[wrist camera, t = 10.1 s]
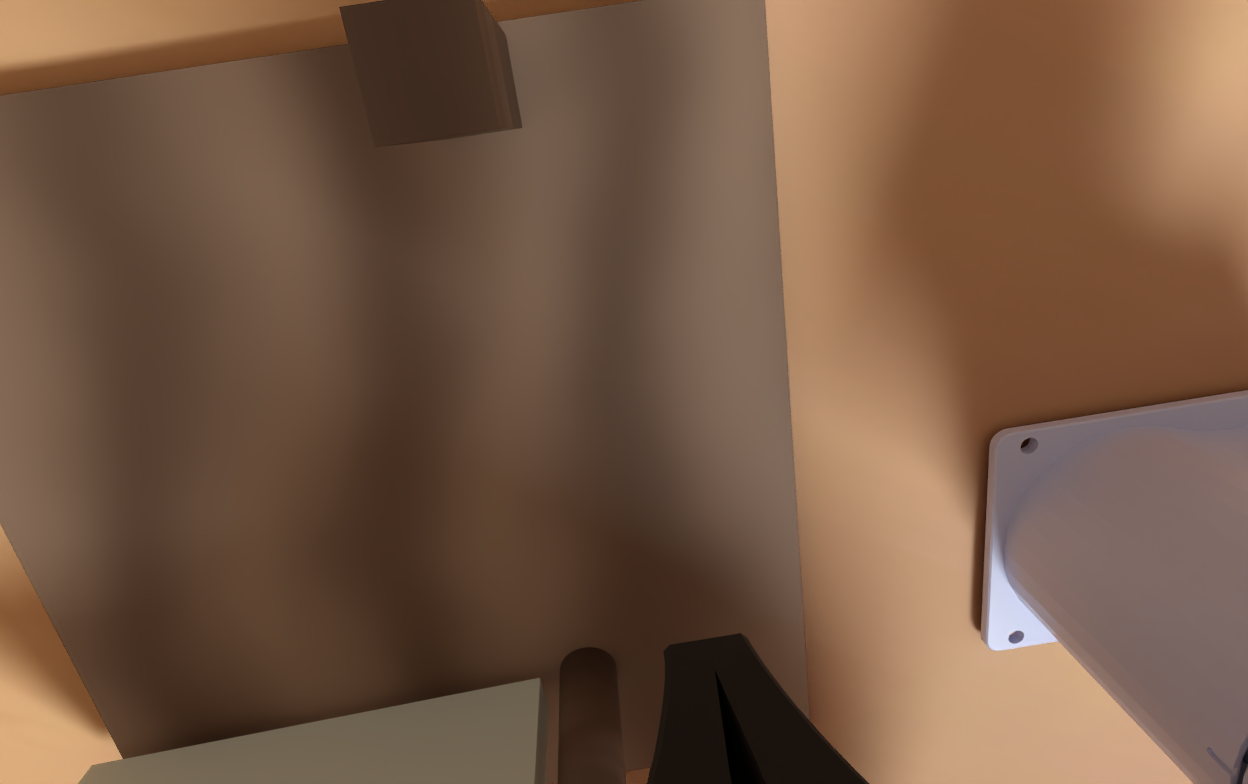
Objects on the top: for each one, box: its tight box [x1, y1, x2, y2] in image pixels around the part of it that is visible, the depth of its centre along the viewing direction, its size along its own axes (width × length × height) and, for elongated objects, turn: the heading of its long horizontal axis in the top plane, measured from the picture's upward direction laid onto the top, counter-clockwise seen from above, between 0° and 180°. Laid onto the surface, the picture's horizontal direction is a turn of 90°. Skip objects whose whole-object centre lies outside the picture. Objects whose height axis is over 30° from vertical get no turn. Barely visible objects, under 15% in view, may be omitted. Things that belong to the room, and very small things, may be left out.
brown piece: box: [0, 0, 810, 784], centre depth 18 cm, size 22×23×7 cm
